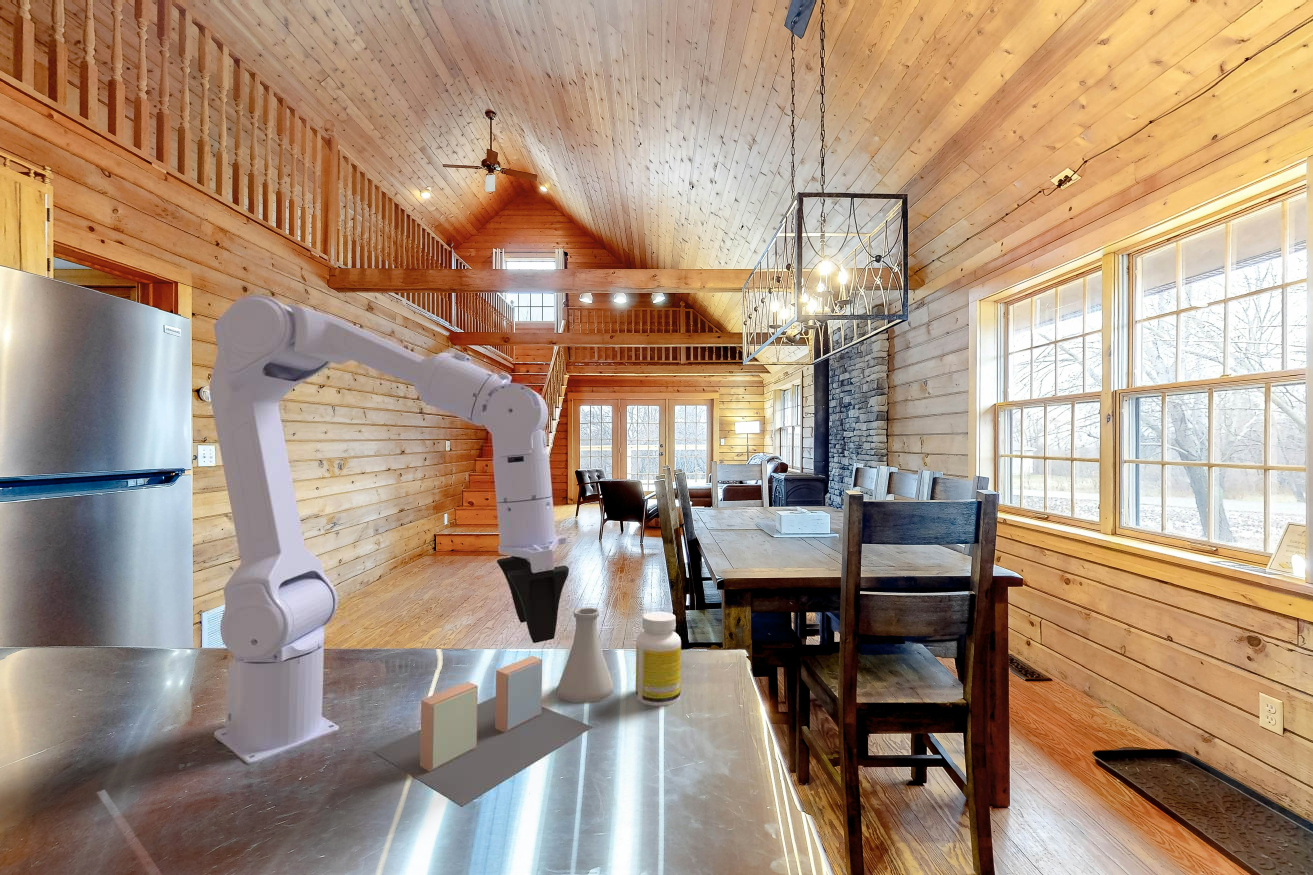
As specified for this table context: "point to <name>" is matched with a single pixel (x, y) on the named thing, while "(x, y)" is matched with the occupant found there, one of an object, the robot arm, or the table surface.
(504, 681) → the tile
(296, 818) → the table surface
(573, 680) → the flask
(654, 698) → the supplement bottle
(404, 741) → the mat
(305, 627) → the robot arm
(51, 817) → the table surface
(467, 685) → the tile
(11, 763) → the table surface
